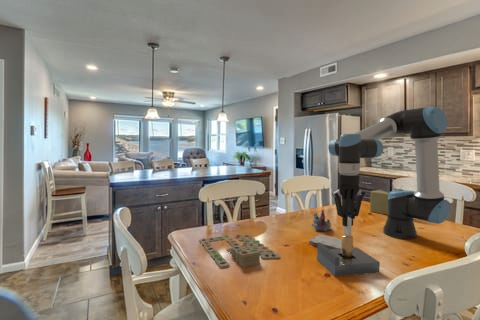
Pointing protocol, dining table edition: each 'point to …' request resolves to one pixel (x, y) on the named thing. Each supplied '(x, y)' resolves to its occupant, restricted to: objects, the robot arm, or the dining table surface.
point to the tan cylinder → (347, 246)
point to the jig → (346, 261)
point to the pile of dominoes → (240, 250)
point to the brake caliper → (321, 222)
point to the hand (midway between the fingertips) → (347, 234)
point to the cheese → (379, 202)
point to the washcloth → (326, 242)
